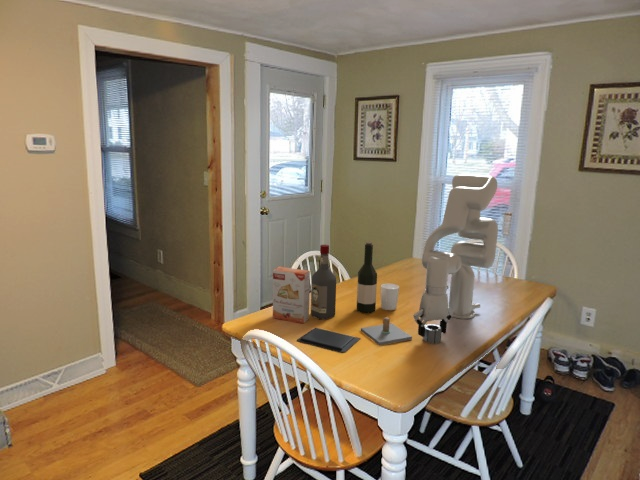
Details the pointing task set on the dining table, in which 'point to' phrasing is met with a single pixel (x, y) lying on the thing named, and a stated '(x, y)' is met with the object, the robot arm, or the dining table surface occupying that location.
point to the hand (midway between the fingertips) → (432, 333)
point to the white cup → (389, 296)
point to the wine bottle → (367, 283)
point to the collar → (432, 333)
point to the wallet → (329, 340)
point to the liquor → (323, 288)
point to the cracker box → (291, 294)
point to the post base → (386, 333)
